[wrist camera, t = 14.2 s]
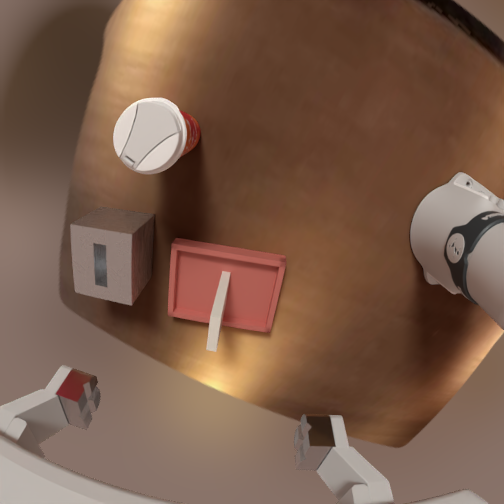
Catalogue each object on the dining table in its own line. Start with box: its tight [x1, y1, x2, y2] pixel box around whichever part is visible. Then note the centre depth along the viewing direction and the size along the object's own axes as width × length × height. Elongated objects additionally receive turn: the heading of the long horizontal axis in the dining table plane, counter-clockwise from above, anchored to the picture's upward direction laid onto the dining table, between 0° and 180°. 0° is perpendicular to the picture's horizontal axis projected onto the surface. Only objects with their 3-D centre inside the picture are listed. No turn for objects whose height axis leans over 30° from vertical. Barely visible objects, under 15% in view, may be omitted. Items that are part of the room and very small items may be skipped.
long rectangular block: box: [207, 271, 231, 351], centre depth 42 cm, size 1×5×12 cm, turn 171°
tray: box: [168, 238, 286, 333], centre depth 47 cm, size 16×12×2 cm
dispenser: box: [71, 207, 155, 306], centre depth 42 cm, size 9×10×9 cm
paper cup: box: [113, 98, 200, 174], centre depth 34 cm, size 8×8×14 cm
